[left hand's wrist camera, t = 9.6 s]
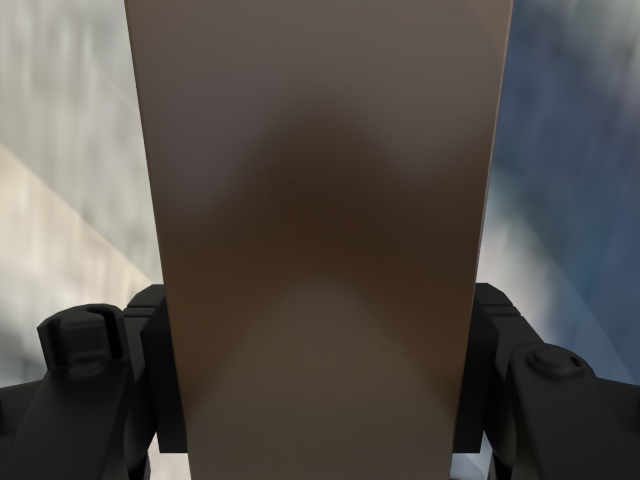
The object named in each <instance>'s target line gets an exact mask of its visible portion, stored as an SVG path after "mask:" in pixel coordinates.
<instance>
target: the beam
mask: <svg viewBox="0 0 640 480" xmlns="http://www.w3.org/2000/svg"><path fill="white" fill-rule="evenodd" d="M124 3H125V10H126V17H127V24H128V32H129V39H130V46H131V53H132V60H133V67H134V74H135V81H136V89H137V96H138V103H139V110H140V117H141V124H142V131H143V138H144V146H145V153H146V160H147V167H148V174H149V181H150V188H151V195H152V203H153V210H154V217H155V224H156V231H157V238H158V245H159V253H160V260H161V267H162V274H163V281H164V288H165V295H166V302H167V310H168V317H169V324H170V331H171V338H172V345H173V352H174V359H175V367H176V374H177V381H178V388H179V395H180V402H181V409H182V417H183V424H184V431H185V438H186V445H187V452H188V459H189V466H190V474H191V480H449V476H450V469H451V461H452V454H453V446H454V439H455V432H456V424H457V417H458V409H459V402H460V395H461V387H462V380H463V372H464V365H465V358H466V350H467V343H468V336H469V328H470V321H471V313H472V306H473V299H474V291H475V284H476V276H477V269H478V262H479V254H480V247H481V239H482V232H483V225H484V217H485V210H486V202H487V195H488V188H489V180H490V173H491V165H492V158H493V151H494V143H495V136H496V128H497V121H498V114H499V106H500V99H501V91H502V84H503V77H504V69H505V62H506V54H507V47H508V40H509V32H510V25H511V17H512V10H513V3H514V0H124Z"/></svg>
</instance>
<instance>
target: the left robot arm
mask: <svg viewBox="0 0 640 480" xmlns="http://www.w3.org/2000/svg"><path fill="white" fill-rule="evenodd" d="M37 331H38V335H39V339H40V342H41V346H42V350H43V354H44V358H45V361H46V365H47V369H48V370H47V372H46V374H45V376H44V378H43V379H42V380H38V381H34V382H29V383H24V384H19V385H14V386H9V387H4V388H0V480H150V473H151V469H150V461H149V455H148V448H149V446H150V444H151V442H152V439H153V437H154V435H155V433H157V439H158V445H159V451H160V453H188V452H187V445H186V438H185V431H184V424H183V417H182V409H181V402H180V395H179V388H178V381H177V374H176V367H175V359H174V352H173V345H172V338H171V331H170V324H169V317H168V310H167V302H166V295H165V288H164V284H152V285H151V286H149V287H147V288H146V289H144V290H142V291H141V292H139V293H137V294H136V295H135V296H134V298H133V299H132V300H131V301H130V302H129V304H128V305H127V308H125V309H124V310H123V311H122V310H121V309H119V308H118V307H117V306H114V305H109V304H86V305H81V306H75V307H72V308H69V309H66V310H63V311H60V312H58V313H56V314H54V315H52V316H51V317H49V318H47V319H45V320H44V321H43V322H42V323H41V324H40V325H39V326H38V327H37ZM483 431H485V433H486V436H487V438H488V440H489V442H490V445H491V447H492V449H493V450H492V455H491V461H490V467H489V472H488V478H487V480H640V386H637V385H632V384H627V383H621V382H616V381H611V380H606V379H602V378H598V377H596V375H595V373H594V371H593V369H592V368H591V367H590V366H589V365H588V363H587V362H586V361H585V360H584V359H582V358H581V357H579V356H578V355H576V354H575V353H573V352H572V351H569V350H567V349H564V348H562V347H559V346H556V345H552V344H547V343H544V342H543V340H542V339H541V338H540V337H539V335H538V334H537V333H536V332H535V331H534V329H533V328H532V327H531V326H530V324H529V323H528V322H527V321H526V319H525V318H524V317H523V316H521V313H520V312H519V311H518V310H517V308H516V307H515V306H513V304H512V302H511V301H510V300H509V299H508V297H507V296H506V295H505V294H504V293H503V292H502V291H500V290H498V289H497V288H495V287H493V286H492V285H490V284H488V283H476V284H475V291H474V299H473V306H472V313H471V321H470V328H469V336H468V343H467V350H466V358H465V365H464V372H463V380H462V387H461V395H460V402H459V409H458V417H457V424H456V432H455V439H454V446H453V453H480V449H481V443H482V437H483Z"/></svg>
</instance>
